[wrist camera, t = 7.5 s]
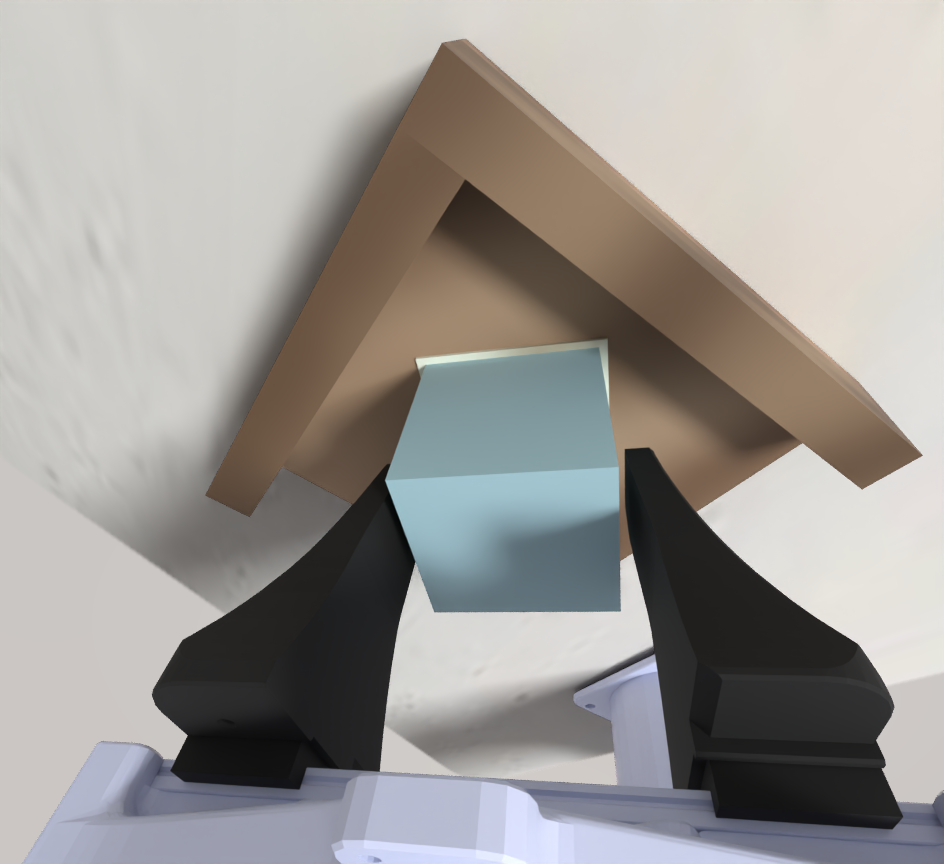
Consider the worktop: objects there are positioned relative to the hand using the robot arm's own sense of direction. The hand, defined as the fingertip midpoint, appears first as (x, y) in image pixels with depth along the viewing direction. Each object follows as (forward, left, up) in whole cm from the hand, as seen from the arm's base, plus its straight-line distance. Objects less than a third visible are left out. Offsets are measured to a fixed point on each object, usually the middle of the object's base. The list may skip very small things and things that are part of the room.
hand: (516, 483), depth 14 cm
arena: (0, 0, -3) cm, 3 cm away
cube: (0, 0, -3) cm, 3 cm away
